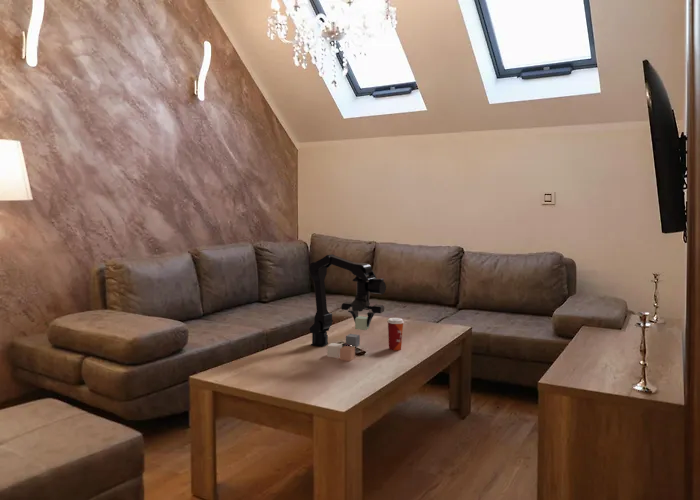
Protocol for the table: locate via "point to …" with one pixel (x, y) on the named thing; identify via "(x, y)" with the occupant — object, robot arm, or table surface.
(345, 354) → the terracotta cube
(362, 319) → the sage cube
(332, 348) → the cream cube
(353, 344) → the charcoal cube
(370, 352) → the table surface
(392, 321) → the paper cup
